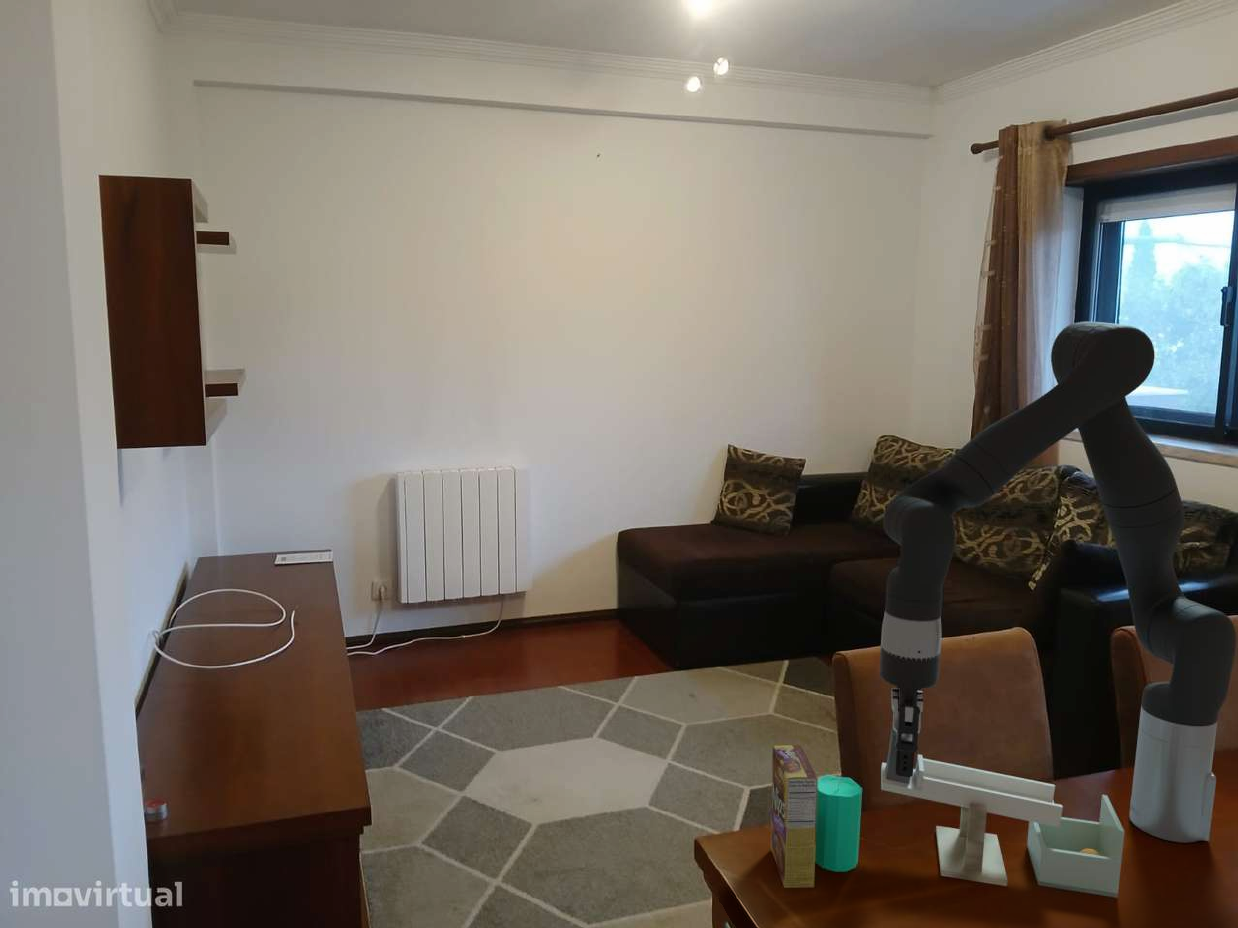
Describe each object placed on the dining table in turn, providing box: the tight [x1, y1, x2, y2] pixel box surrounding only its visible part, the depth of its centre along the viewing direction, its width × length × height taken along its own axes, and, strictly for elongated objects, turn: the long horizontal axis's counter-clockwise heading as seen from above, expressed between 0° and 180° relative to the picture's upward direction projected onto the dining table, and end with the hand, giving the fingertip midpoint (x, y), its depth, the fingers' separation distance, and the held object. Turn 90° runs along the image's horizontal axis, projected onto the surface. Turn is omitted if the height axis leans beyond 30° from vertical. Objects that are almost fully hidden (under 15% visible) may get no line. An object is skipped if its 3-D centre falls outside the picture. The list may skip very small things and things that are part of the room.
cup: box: [1026, 794, 1125, 899], centre depth 121 cm, size 9×9×9 cm
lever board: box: [880, 726, 1064, 827], centre depth 123 cm, size 22×7×8 cm, turn 75°
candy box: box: [770, 744, 819, 889], centre depth 120 cm, size 9×4×15 cm, turn 2°
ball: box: [1080, 849, 1101, 856], centre depth 120 cm, size 3×3×3 cm
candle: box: [815, 774, 863, 873], centre depth 123 cm, size 6×6×12 cm
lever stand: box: [935, 803, 1008, 887], centre depth 124 cm, size 8×11×10 cm
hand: (902, 760), depth 125 cm, fingers open, 8 cm apart
